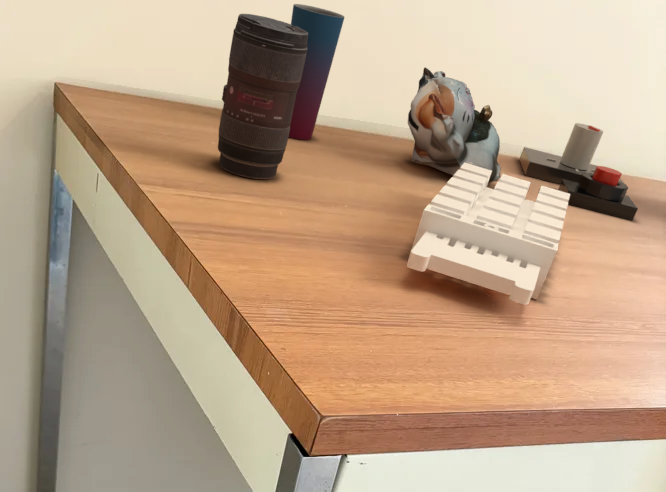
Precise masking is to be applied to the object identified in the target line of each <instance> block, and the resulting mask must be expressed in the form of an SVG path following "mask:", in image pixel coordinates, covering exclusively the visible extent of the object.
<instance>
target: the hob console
mask: <svg viewBox="0 0 666 492" xmlns="http://www.w3.org/2000/svg"><path fill="white" fill-rule="evenodd" d="M561 158H562V155H558V154H553V153H549V152H547V151H546V152H545V151H543V150H542V151H541V150H538V149H534V148H530V147H526V146H524V147H523V148H522V151H521V153H520V156H519V163H520V165H521V168H522V171H523V174H524V176H526V177H531V178H535V179H538V180H541V181H546V182H549V183H554V184H558V185H560V183H561V181H562V179H565V180H569V181H573V182H576V183H578V181H579V179H580V176H581V174H582V173H585V172H588V173H594V172H595V169H596V167H597V166H598V165H596V164H592V163H590V165H589V168H588V170H579V169H575V168H572V167H569V166H566V165H564V164H562V163H561V162H560V160H561ZM619 181H620V182H622V183H624V184H625V182H624V181H623V180H622V177H620V180H619Z"/></svg>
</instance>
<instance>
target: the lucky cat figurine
mask: <svg viewBox="0 0 666 492" xmlns="http://www.w3.org/2000/svg"><path fill="white" fill-rule="evenodd" d="M475 107H476V106H475V103H474V100H473V96H472V93H471V91H470V88H469V87H468V86H467V84H466V82H463V81H461V80H459V79H455V78H452V77H447V76H446V72H443V70H438V71H435V72H432V71H431V70H430V69H429V68H427V67H423V71H422V76H421V78H420V79H419V80H418V88H417V92H416V94H415V96H414V97H413V98H412V100H411V102H410V109H409V112H408V114H407V125H408V127H409V131H410V132H411V136H412V138H413V140H414V144H413V149H412V157H411V158H412V159H411V160H412V163H413V164H420V165H425V166H428V167H431V168H434V169H436V170H439V171H441V172H443V173H446V174H448V175H451V176H452V177H453V176H454V174H455V173H456V172H457V171H458V169H460V167H461V166H462V165H463V164H464V162H465V163H468V164H471V165H475V166H478V167H481V168H485V169H488V170H492V173H491V176H490V179H489V182H488V184H487V186H488V185H489V184H491V183H492V182H498V181H499V179H500V178H501V171H502V167H501V164H500V163H499V162H498V157H499V154H500V153H499V152H500V148H501V147H500V144H501V143H500V142H501V141H500V140H501V139H500V136H499V133H498V131H497V129H496V127H495V126H494V123H492V122H491V121H490V120H491V118H492V116H493V110H492V109H491V107H490V104H488V105H485V106H483V107H482V108H481V110H480V111H478V110H477V109H475Z"/></svg>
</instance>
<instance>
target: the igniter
mask: <svg viewBox="0 0 666 492" xmlns="http://www.w3.org/2000/svg"><path fill="white" fill-rule="evenodd" d="M593 174H594V173H588V172H585V173H582V174H581V176H580V179H579V181H578V183H576V182H573V181H569V180H565V179H562V181H561V183H560V184H559V186H558V188H557V190H559V191H562V192H566V193H569V194H570V198H569V201H568V205H570V206H573V207H578V208H581V209H586V210H589V211H592V212H593V211H594V212H598V213H601V214H605V215H609V216H613V217H617V218H620V219H625V220H628V221H631V222H632V221H634V218H635V216H636V214H637V212H638V210H639V208H638V206H637V205H636V203H634V201H633V200H632V198H631V197H630V195H627V193H628V192H627V191H628V189H629V186H628V185H627V184H626V183H625V182H624V183H622V182H620V181H619V182H618V184H617V185H610V184H607V183H603V182H600V181H597V180H595V179H593V178H592V176H593Z"/></svg>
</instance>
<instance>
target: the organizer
mask: <svg viewBox="0 0 666 492" xmlns="http://www.w3.org/2000/svg"><path fill="white" fill-rule="evenodd" d="M491 173H492V170H488V169H485V168H481V167H478V166H475V165H471V164H468V163H465V162H464V164H463V165H462V166H461V167H460V169H458V171H457V172H456V173H455V174H454V176H453V175H452V177H450V179H449V180H448V181H447V182H446V184H445V185H444V186H442V188H441V189H440V190H439V192H438V194H436V195H435V196H434V197H433V198H432V200H431V201H430V203H428V204H427V206H426V207H425V208H424V209H423V210H422V211H423V212H422V214H421V217H420V221H419V224H418V227H417V230H416V234H415V237H414V240H413V243H412V247H411V250H410V253H409V255H408V259H407V263H406V267H407V268H409V269H411V270H414V271H417V272H426V270H429V271H433V272H436V273H439V274H442V275H445V276H448V277H451V278H454V279H457V280H461V281H464V282H467V283H469V284H473V285H476V286H479V287H482V288H486V289H487V290H492V291H495V292H498V293H501V294H504V295H507V296H509V297H508V299H509V300H510V301H511V302H514V303H517V304H520V305H525V306H527V305H529V304H530V301H531V299H533V300H536V301H537V300H538V298H539V295H540V293H541V290H542V288H543V286H544V283H545V281H546V279H547V277H548V275H549V271H550V270H551V267H552V264H553V262H554V260H555V257H556V255H557V252H558V248H559V246H560V245H559V244H560V241H561V236H562V231H563V227H564V224H565V219H566V214H567V210H568V206H569V204H568V201H569V198H570V194H569V193H566V192H562V191H559V190H558V189H555V188H552V187H549V186H545V185H541V186H540V188H539V191H538V194H537V196H536V199H535V200H531V199H528V198H526V196H527V194H528V192H529V188H530V186H531V183H532V182H531V181H529V180H526V179H522V178H518V177H515V176H511V175H508V174H506V173H505V174H504V173H501V174H502V175H500V178H499V179H498V180H497V182H496V183H495V186H494V188H490V187H488V185H489V184H488V182H489V179H490V176H491ZM487 184H488V185H487Z"/></svg>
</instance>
